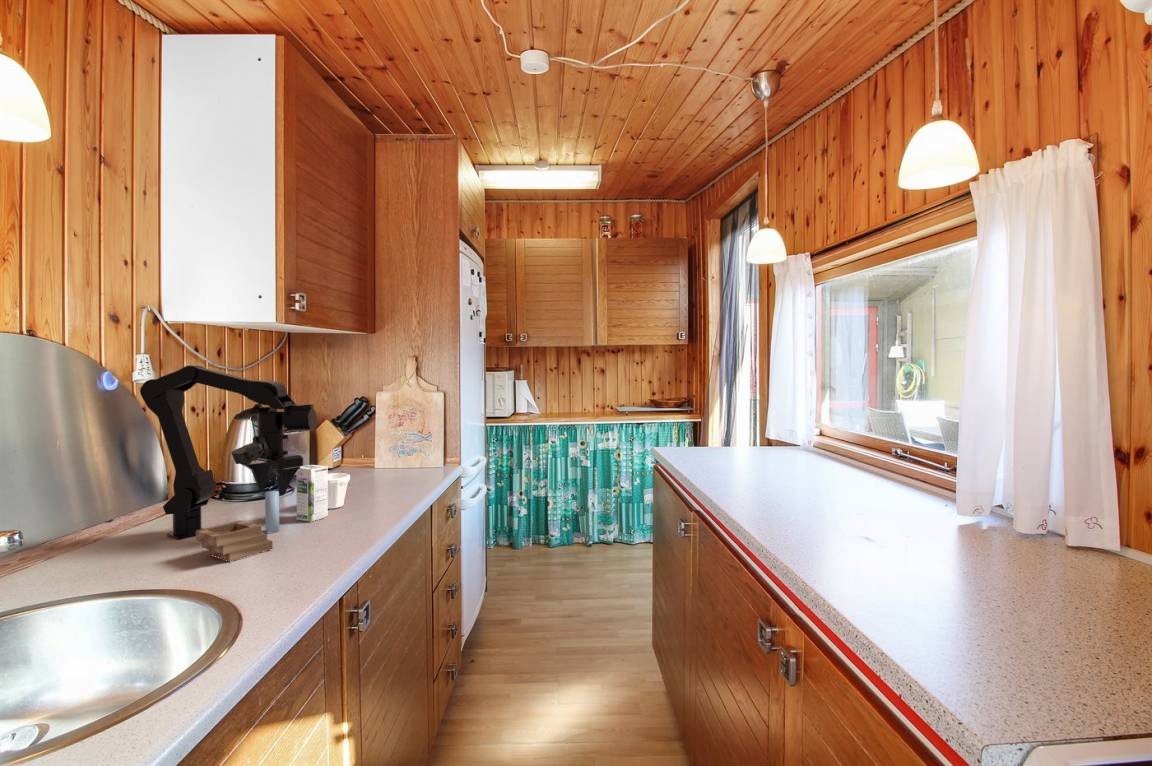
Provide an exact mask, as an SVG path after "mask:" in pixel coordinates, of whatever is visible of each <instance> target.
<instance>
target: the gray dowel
mask: <svg viewBox="0 0 1152 766" xmlns="http://www.w3.org/2000/svg"><path fill="white" fill-rule="evenodd" d="M264 505H265V507H264V509H265V511H264V513H265V515H264V516H265V521H264V522H265V533H266V532H275V533H277V532H276V531H278V532H279V531H280V495H279V491H278V490H270V491H266V492H264Z"/></svg>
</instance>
